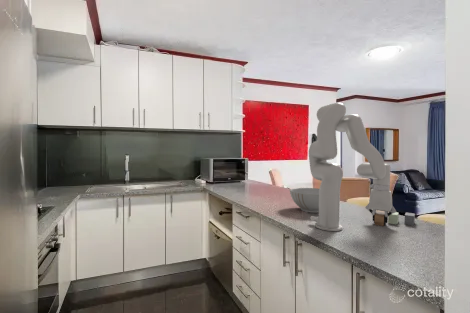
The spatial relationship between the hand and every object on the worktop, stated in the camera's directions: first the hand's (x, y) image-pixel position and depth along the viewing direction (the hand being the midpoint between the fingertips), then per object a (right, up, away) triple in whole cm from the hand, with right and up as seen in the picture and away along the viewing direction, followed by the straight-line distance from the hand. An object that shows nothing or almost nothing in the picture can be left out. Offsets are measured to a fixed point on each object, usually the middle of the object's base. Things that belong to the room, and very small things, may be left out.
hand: (379, 222), depth 135 cm
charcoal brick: (+17, -1, +2) cm, 17 cm away
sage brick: (+9, -1, +4) cm, 10 cm away
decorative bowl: (-27, 0, +29) cm, 40 cm away
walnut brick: (+1, 0, +1) cm, 1 cm away
